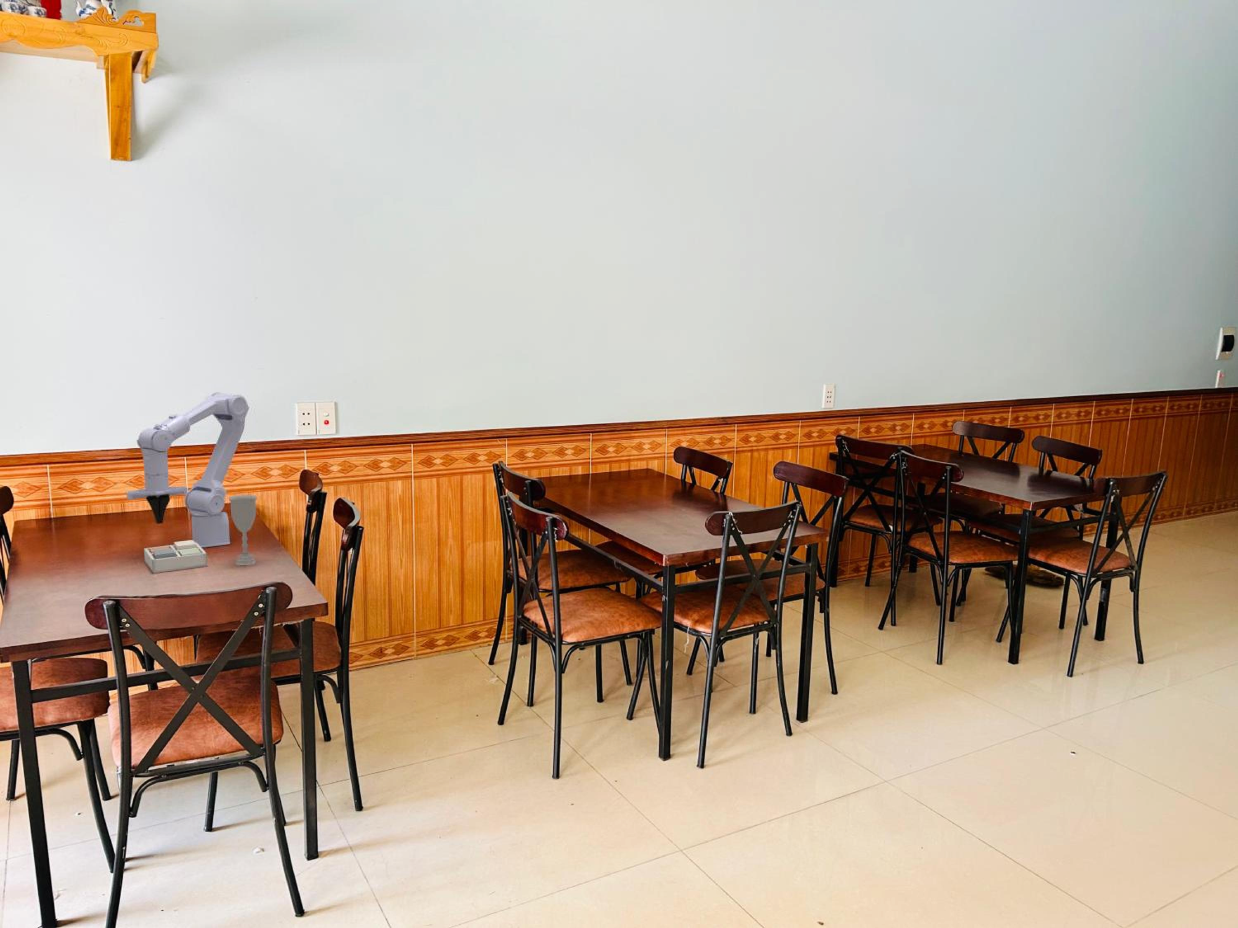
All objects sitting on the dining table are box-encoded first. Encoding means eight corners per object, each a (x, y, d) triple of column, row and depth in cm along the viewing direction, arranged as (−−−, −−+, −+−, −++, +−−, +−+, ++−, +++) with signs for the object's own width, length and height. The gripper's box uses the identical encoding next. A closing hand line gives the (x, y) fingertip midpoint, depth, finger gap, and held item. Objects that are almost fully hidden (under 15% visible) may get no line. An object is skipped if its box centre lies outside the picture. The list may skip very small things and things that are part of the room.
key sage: (198, 557, 242) (197, 548, 241) (201, 561, 238) (201, 552, 238) (179, 559, 239) (178, 550, 239) (182, 564, 235) (182, 555, 235)
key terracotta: (168, 554, 243) (168, 546, 243) (171, 559, 239) (171, 550, 239) (149, 557, 240) (149, 548, 240) (152, 561, 237) (152, 552, 236)
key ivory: (193, 548, 246) (192, 539, 246) (196, 552, 243) (196, 543, 242) (174, 550, 244) (174, 542, 243) (177, 555, 240) (177, 546, 240)
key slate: (172, 557, 238) (172, 548, 238) (176, 561, 234) (175, 552, 234) (153, 559, 235) (153, 550, 235) (156, 564, 232) (156, 554, 231)
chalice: (265, 561, 244) (263, 496, 241) (247, 567, 238) (244, 501, 235) (243, 557, 246) (240, 493, 243) (225, 564, 240) (222, 498, 237)
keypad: (196, 554, 248) (196, 541, 248) (207, 566, 238) (206, 553, 237) (144, 560, 241) (143, 548, 240) (153, 573, 231) (152, 560, 230)
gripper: (128, 478, 234) (131, 529, 236) (188, 473, 242) (191, 522, 245) (124, 473, 240) (127, 523, 242) (183, 469, 248) (186, 517, 250)
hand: (159, 522), depth 244 cm, fingers closed
